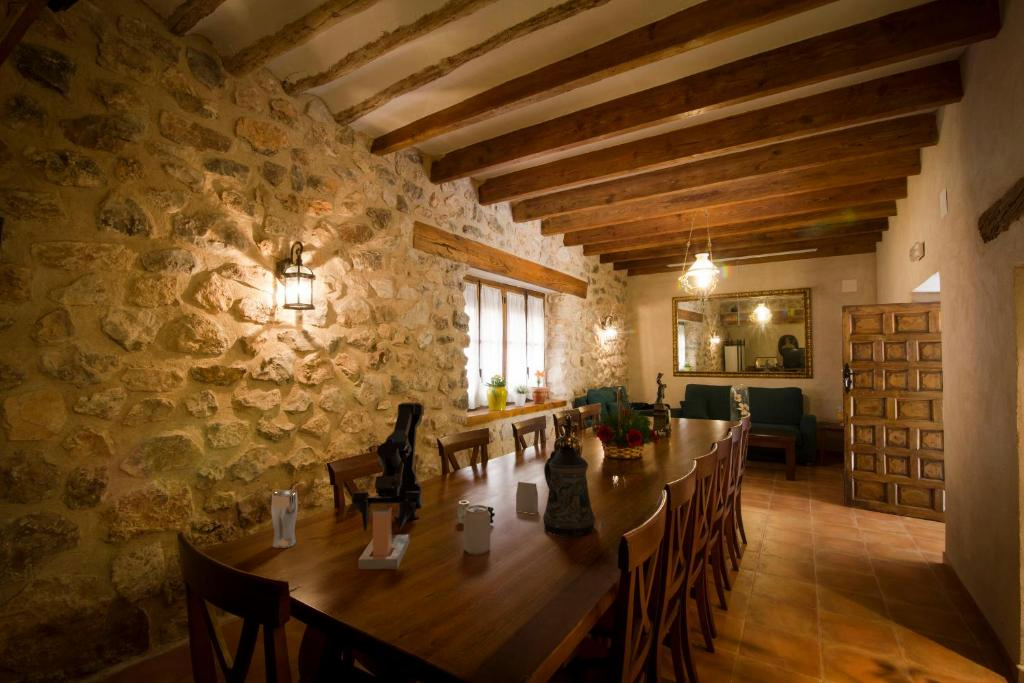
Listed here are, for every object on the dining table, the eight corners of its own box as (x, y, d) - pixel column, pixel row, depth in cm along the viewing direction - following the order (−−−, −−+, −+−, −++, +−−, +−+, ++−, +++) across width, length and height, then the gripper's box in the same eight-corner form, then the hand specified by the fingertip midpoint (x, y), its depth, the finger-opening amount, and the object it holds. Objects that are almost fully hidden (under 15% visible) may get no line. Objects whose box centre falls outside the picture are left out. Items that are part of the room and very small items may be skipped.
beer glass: (302, 541, 143) (303, 490, 143) (284, 551, 136) (285, 497, 136) (284, 538, 145) (284, 488, 145) (265, 547, 138) (265, 495, 139)
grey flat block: (374, 543, 141) (374, 534, 141) (409, 543, 142) (409, 534, 142) (358, 569, 125) (358, 559, 125) (397, 568, 125) (397, 558, 125)
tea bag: (534, 514, 166) (534, 485, 166) (516, 511, 169) (516, 483, 169) (537, 511, 170) (537, 482, 170) (520, 508, 172) (520, 480, 172)
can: (469, 558, 131) (469, 513, 132) (459, 548, 138) (459, 505, 138) (494, 552, 135) (494, 509, 135) (483, 543, 142) (483, 502, 142)
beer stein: (582, 542, 142) (582, 457, 142) (525, 529, 152) (525, 450, 153) (603, 525, 156) (602, 447, 156) (549, 514, 166) (549, 441, 167)
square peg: (376, 558, 131) (376, 506, 132) (391, 558, 132) (391, 506, 132) (372, 564, 127) (372, 511, 128) (388, 564, 127) (388, 511, 128)
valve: (452, 524, 157) (483, 531, 151) (452, 504, 157) (483, 509, 151) (464, 518, 163) (494, 524, 157) (464, 498, 163) (494, 504, 157)
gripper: (353, 463, 135) (340, 516, 124) (420, 462, 135) (413, 515, 124) (361, 483, 143) (349, 535, 132) (424, 482, 143) (418, 534, 132)
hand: (382, 530), depth 130 cm, fingers open, 9 cm apart
